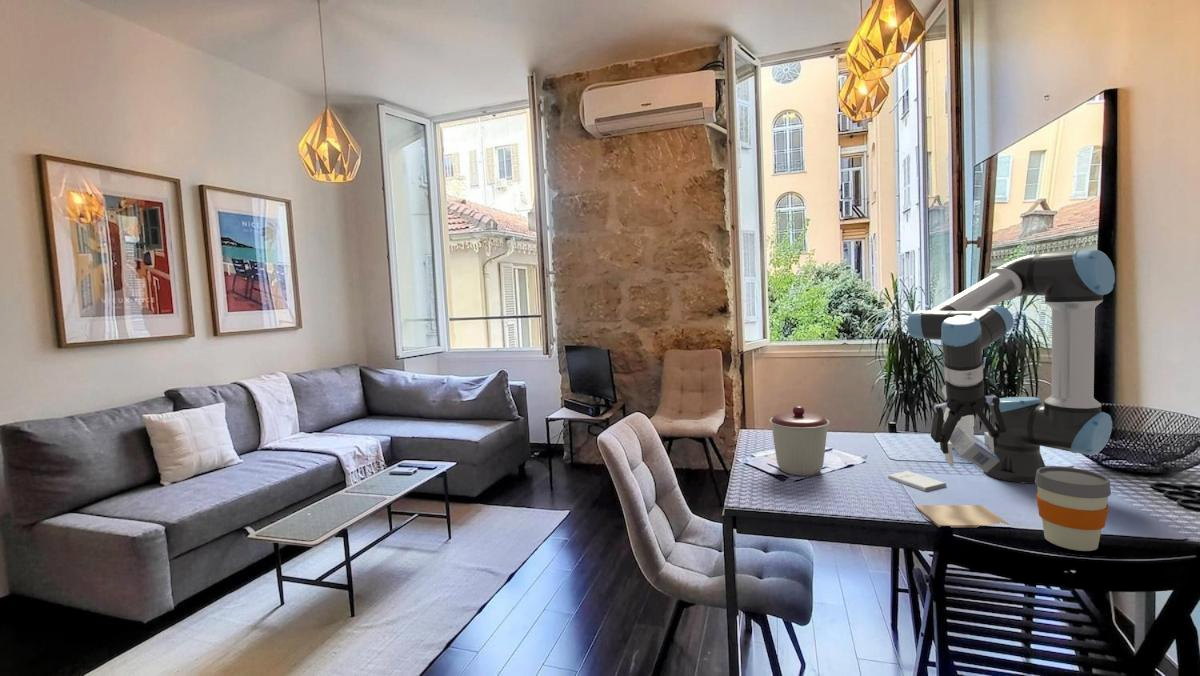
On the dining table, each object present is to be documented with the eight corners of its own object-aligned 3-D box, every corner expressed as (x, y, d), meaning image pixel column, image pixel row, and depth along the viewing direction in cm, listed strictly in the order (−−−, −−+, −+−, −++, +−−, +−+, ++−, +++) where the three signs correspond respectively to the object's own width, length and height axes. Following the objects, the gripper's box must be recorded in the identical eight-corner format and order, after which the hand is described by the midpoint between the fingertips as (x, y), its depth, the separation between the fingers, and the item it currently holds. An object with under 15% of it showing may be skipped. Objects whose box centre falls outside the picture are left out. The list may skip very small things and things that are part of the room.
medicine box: (975, 443, 127) (958, 424, 134) (960, 456, 128) (944, 436, 136) (1001, 460, 127) (983, 441, 135) (986, 473, 129) (969, 453, 137)
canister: (794, 458, 186) (792, 398, 184) (842, 471, 171) (841, 405, 169) (758, 470, 176) (756, 406, 174) (806, 485, 161) (805, 415, 159)
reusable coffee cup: (1126, 552, 114) (1128, 482, 112) (1071, 557, 113) (1072, 487, 111) (1070, 526, 126) (1071, 464, 125) (1019, 531, 125) (1020, 468, 124)
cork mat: (981, 507, 139) (981, 505, 139) (1011, 527, 127) (1011, 525, 127) (915, 507, 141) (915, 505, 141) (938, 527, 129) (938, 525, 129)
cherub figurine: (970, 442, 193) (971, 382, 191) (991, 453, 181) (992, 388, 179) (934, 442, 195) (935, 382, 193) (952, 453, 182) (953, 388, 181)
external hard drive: (925, 493, 151) (888, 479, 163) (946, 488, 154) (908, 475, 166) (925, 487, 151) (888, 474, 163) (946, 482, 154) (908, 470, 166)
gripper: (921, 395, 127) (929, 475, 134) (1023, 378, 122) (1026, 462, 129) (909, 381, 133) (917, 457, 141) (1005, 364, 128) (1009, 445, 136)
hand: (969, 459), depth 135 cm, fingers closed on medicine box, 8 cm apart
